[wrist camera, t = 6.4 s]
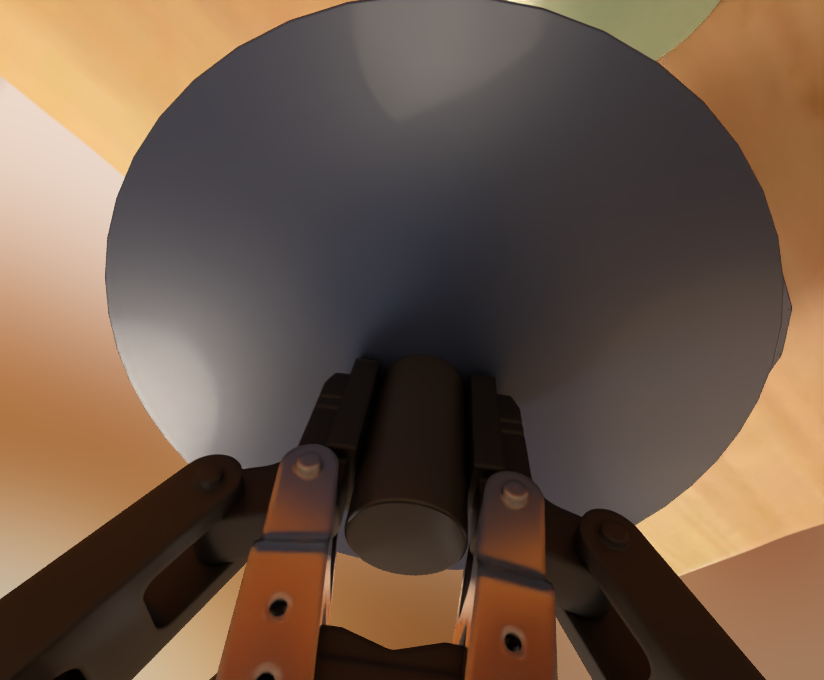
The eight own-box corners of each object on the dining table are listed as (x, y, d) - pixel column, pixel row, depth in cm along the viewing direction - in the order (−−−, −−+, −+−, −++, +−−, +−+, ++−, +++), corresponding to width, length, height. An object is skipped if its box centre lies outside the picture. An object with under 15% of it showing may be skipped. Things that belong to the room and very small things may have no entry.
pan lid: (949, 53, 9) (1599, 45, 4) (618, 575, 19) (675, 760, 14) (27, -50, 9) (-484, -180, 4) (187, 513, 20) (93, 671, 15)
